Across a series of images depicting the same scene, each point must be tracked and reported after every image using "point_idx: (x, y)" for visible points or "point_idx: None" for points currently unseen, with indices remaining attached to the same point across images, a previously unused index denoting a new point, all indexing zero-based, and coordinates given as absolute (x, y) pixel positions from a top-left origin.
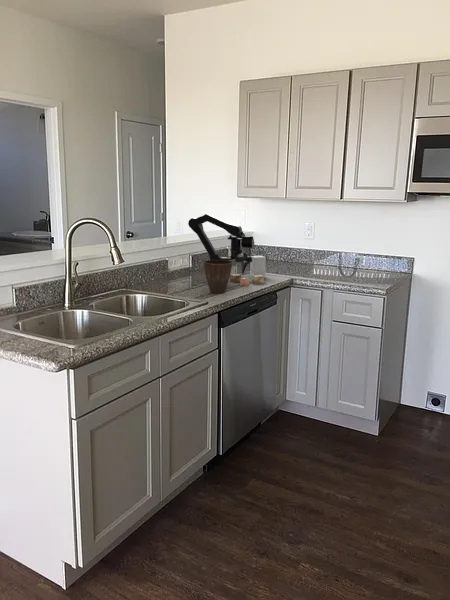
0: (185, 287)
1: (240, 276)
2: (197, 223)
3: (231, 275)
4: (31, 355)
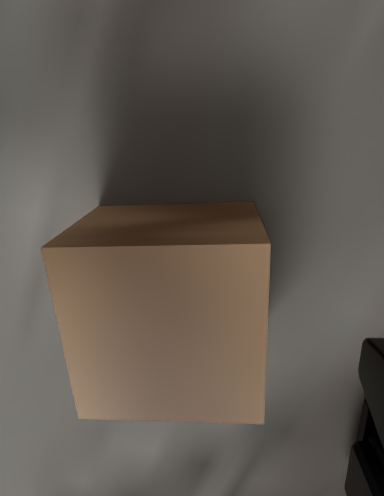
0: None
1: (72, 236)
2: None
3: (265, 338)
4: None
